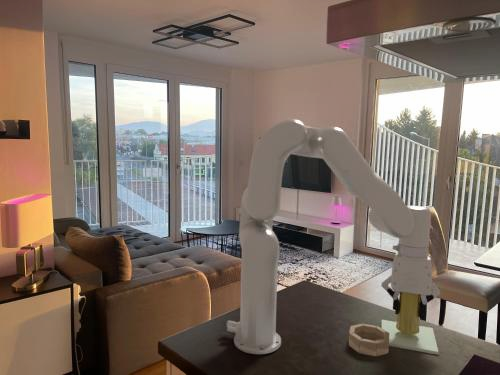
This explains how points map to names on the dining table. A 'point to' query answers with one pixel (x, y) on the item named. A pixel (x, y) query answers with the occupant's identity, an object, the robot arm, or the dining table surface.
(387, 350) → the ring
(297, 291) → the dining table surface
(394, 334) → the mat
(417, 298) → the vase
